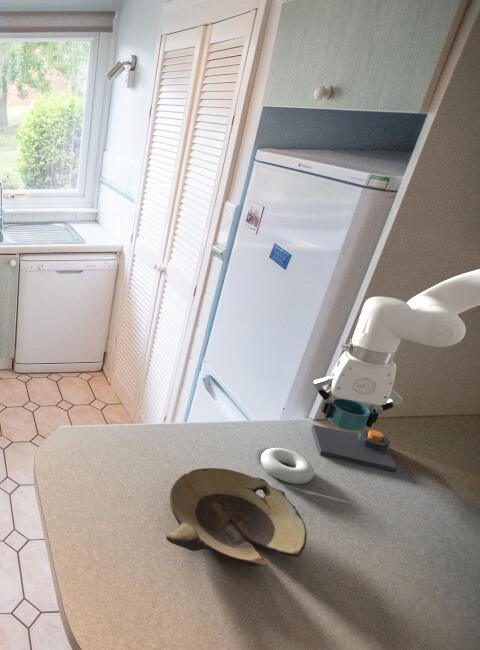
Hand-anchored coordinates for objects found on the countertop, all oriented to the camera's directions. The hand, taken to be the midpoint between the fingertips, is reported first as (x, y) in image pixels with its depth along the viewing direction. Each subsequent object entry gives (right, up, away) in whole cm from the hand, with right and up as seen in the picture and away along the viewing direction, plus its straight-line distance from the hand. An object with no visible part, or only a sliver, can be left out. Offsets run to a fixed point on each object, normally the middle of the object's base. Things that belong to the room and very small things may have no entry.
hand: (346, 419), depth 106 cm
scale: (+3, -8, +3) cm, 9 cm away
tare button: (+9, -5, +2) cm, 10 cm away
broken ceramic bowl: (-40, -17, -17) cm, 47 cm away
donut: (-17, -11, -3) cm, 20 cm away
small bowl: (0, -1, 0) cm, 1 cm away
